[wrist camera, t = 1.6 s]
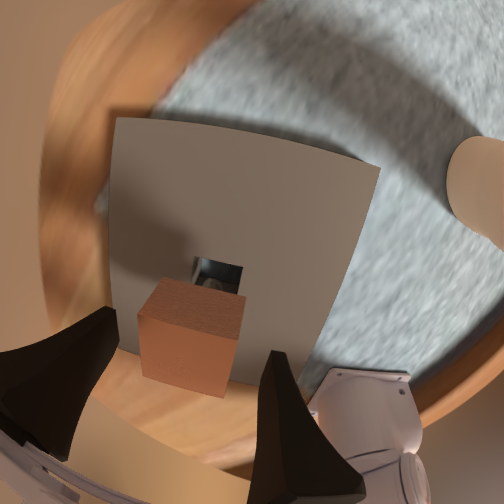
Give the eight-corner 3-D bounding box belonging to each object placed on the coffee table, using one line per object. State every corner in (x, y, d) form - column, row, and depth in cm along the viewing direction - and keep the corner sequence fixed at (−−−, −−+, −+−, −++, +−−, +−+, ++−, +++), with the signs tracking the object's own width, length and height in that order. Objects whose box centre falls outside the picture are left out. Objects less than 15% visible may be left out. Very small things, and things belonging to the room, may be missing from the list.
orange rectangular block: (252, 265, 15) (238, 340, 10) (239, 319, 17) (223, 398, 11) (183, 249, 15) (137, 313, 10) (179, 305, 17) (142, 376, 11)
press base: (365, 162, 16) (380, 167, 13) (290, 367, 23) (291, 391, 20) (138, 117, 15) (116, 117, 13) (131, 328, 23) (118, 348, 20)
